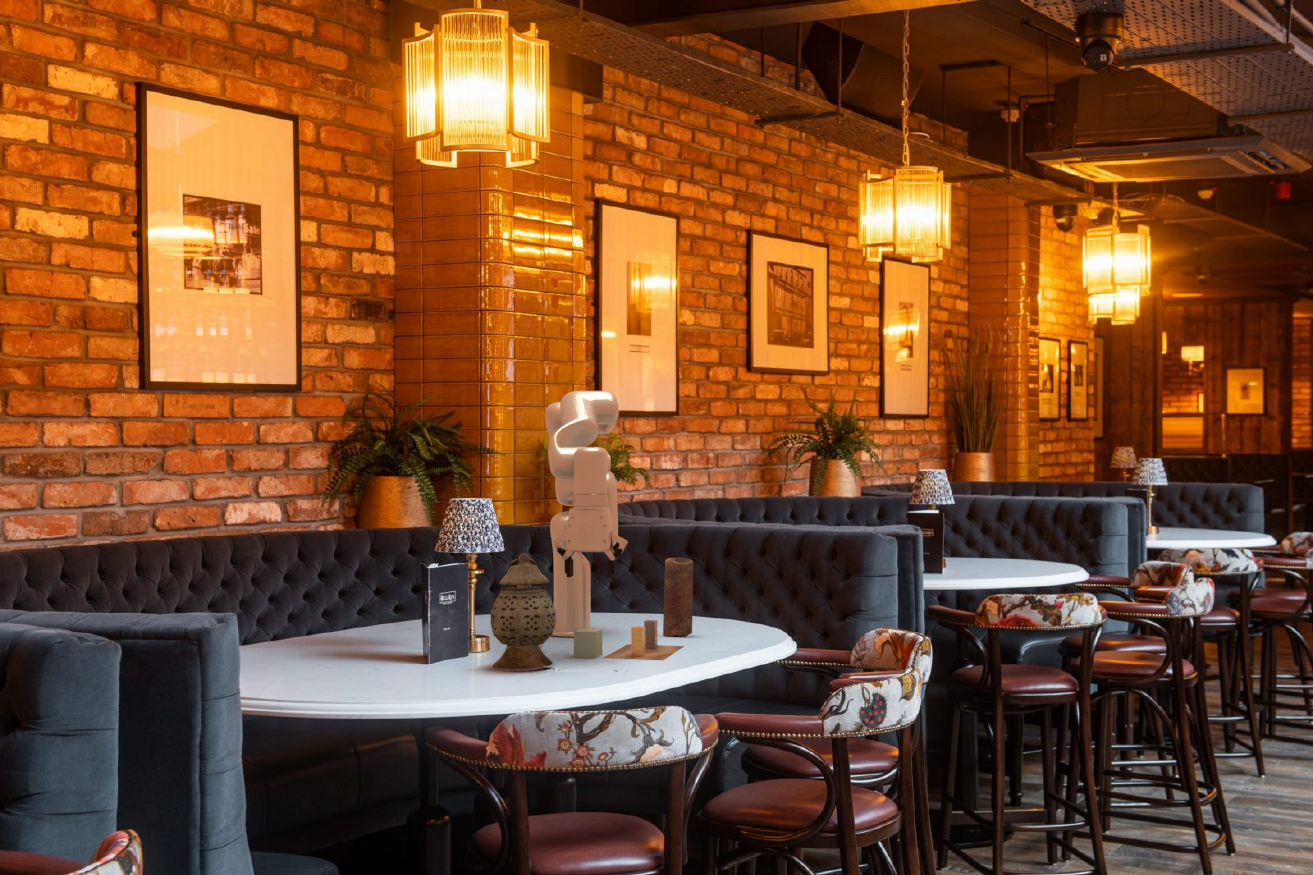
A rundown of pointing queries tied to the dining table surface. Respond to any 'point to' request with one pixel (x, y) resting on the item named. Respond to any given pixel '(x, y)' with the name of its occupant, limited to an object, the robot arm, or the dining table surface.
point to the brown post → (650, 634)
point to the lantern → (523, 618)
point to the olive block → (587, 643)
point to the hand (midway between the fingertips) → (590, 577)
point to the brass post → (638, 641)
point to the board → (650, 654)
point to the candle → (678, 597)
